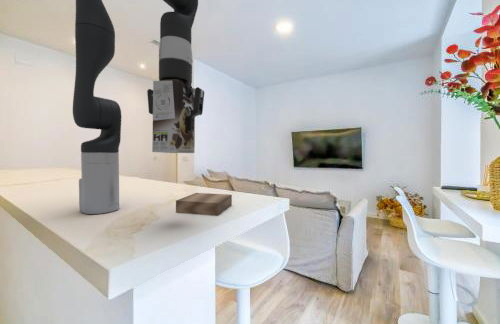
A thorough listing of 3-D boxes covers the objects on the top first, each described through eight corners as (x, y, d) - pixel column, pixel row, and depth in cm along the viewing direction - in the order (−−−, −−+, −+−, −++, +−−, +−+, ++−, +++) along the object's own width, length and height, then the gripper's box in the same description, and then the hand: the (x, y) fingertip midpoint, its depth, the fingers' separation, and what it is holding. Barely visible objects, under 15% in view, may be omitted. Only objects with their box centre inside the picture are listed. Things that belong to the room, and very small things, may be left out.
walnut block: (175, 214, 65) (175, 200, 65) (196, 204, 78) (196, 192, 77) (217, 217, 62) (217, 203, 62) (231, 206, 75) (231, 194, 74)
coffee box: (177, 153, 49) (178, 78, 48) (151, 152, 50) (151, 79, 49) (195, 153, 57) (196, 90, 57) (173, 152, 59) (173, 91, 58)
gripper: (138, 58, 50) (138, 131, 51) (196, 53, 47) (195, 131, 48) (158, 70, 58) (158, 134, 59) (210, 67, 55) (209, 134, 56)
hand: (175, 132), depth 53 cm, fingers closed on coffee box, 6 cm apart
